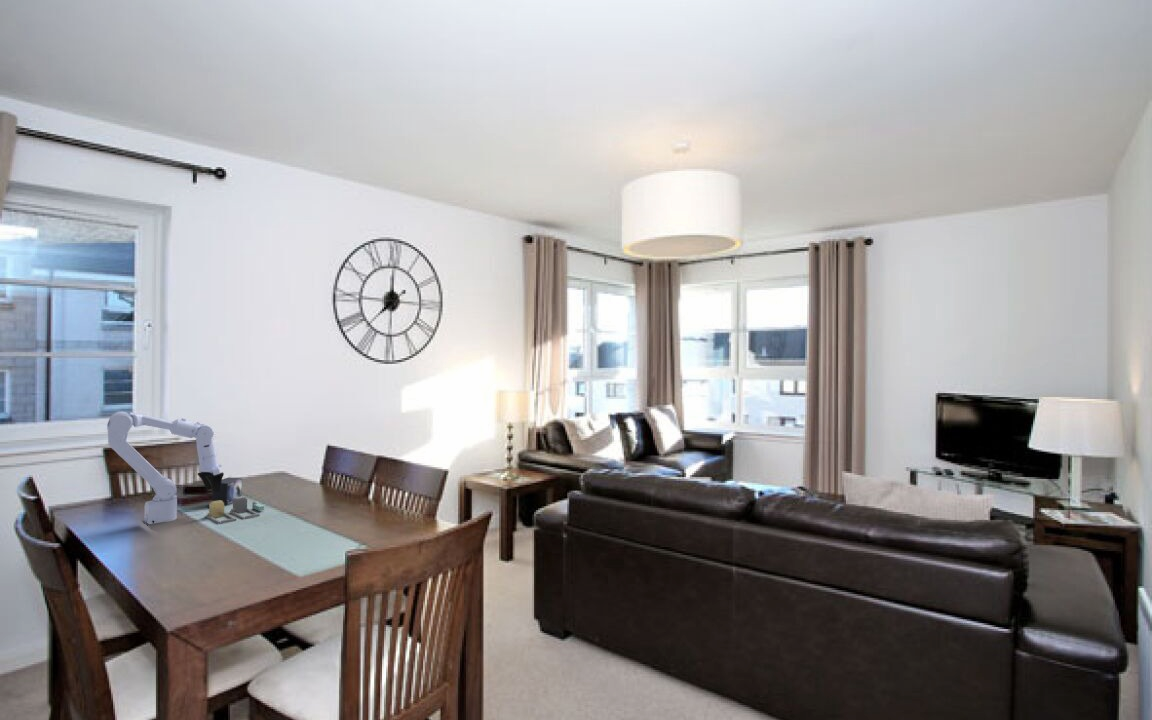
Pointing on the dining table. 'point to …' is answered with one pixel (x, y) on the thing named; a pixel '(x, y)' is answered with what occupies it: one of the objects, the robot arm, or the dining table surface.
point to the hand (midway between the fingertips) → (213, 490)
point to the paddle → (257, 506)
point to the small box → (228, 490)
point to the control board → (233, 517)
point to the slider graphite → (240, 504)
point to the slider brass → (216, 509)
